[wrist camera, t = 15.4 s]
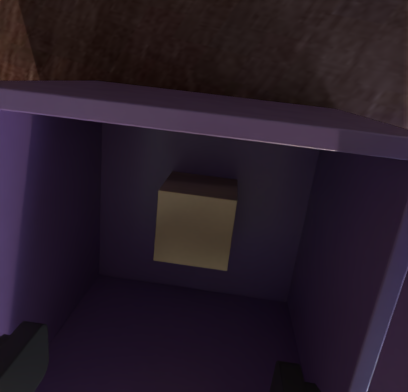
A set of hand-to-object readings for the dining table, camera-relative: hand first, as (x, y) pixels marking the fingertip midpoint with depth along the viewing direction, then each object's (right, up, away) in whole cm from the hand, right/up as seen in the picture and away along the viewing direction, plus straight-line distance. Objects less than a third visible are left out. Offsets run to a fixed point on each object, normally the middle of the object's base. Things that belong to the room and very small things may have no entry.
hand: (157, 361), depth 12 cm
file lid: (+10, -4, -7) cm, 13 cm away
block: (+1, +5, +15) cm, 16 cm away
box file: (+1, +5, +16) cm, 17 cm away
